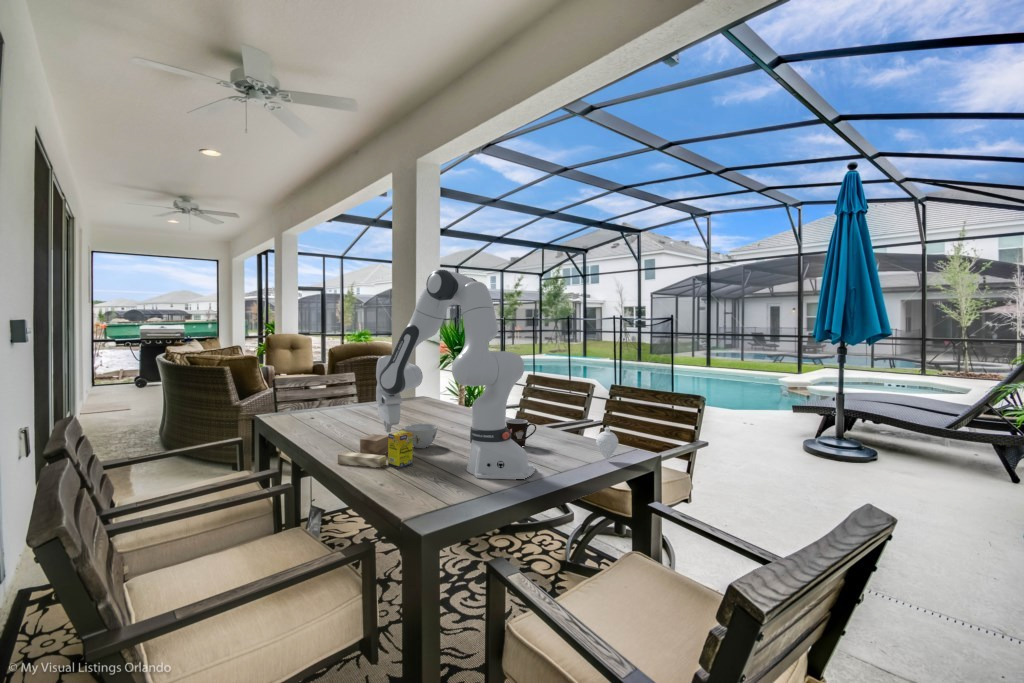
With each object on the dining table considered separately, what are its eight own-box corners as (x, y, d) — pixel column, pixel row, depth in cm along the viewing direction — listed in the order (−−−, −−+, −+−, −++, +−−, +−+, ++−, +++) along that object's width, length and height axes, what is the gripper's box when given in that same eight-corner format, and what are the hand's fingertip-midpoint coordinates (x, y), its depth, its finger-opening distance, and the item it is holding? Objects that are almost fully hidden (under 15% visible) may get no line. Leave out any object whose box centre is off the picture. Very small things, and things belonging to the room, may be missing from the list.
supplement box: (399, 468, 154) (399, 436, 154) (387, 465, 158) (387, 433, 157) (413, 464, 159) (413, 432, 158) (401, 461, 162) (401, 430, 162)
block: (389, 451, 175) (389, 435, 175) (376, 457, 167) (376, 440, 167) (373, 449, 177) (373, 434, 177) (360, 455, 169) (360, 439, 169)
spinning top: (607, 466, 159) (608, 431, 159) (591, 460, 165) (591, 427, 165) (622, 462, 164) (623, 428, 163) (606, 457, 170) (606, 424, 169)
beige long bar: (385, 464, 159) (385, 455, 158) (379, 467, 155) (379, 458, 155) (344, 460, 163) (344, 451, 163) (337, 463, 159) (337, 454, 159)
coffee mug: (503, 448, 180) (504, 422, 179) (507, 443, 188) (508, 418, 188) (533, 450, 178) (534, 424, 178) (536, 444, 186) (536, 419, 186)
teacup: (442, 443, 187) (442, 423, 186) (431, 452, 174) (431, 430, 174) (406, 441, 189) (406, 421, 189) (393, 449, 177) (393, 428, 177)
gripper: (373, 392, 188) (373, 426, 189) (386, 401, 170) (386, 438, 171) (389, 391, 191) (389, 425, 192) (403, 399, 173) (403, 436, 174)
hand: (387, 431), depth 181 cm, fingers closed
